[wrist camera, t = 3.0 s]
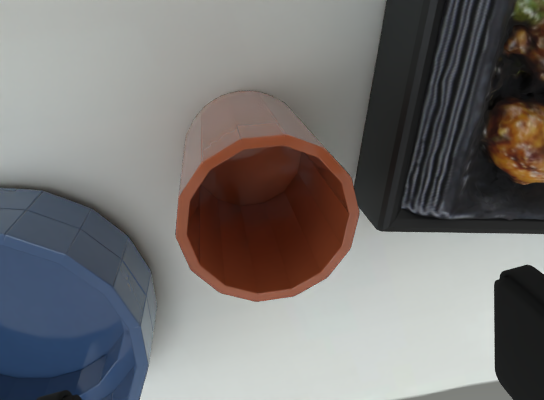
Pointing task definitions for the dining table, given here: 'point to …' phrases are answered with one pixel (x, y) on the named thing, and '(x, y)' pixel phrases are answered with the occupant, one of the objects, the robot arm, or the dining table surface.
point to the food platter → (456, 119)
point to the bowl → (70, 302)
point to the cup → (261, 200)
